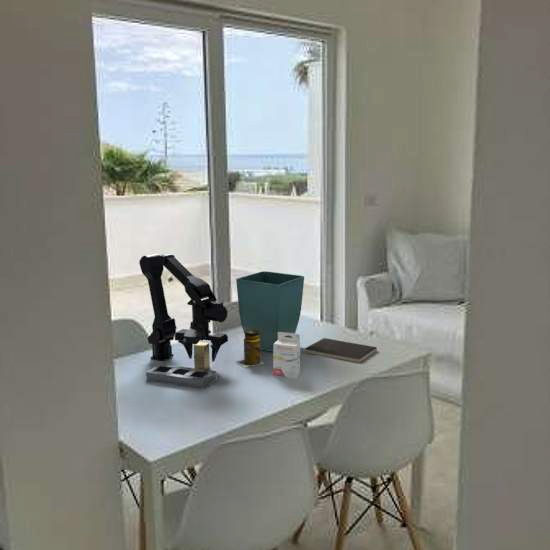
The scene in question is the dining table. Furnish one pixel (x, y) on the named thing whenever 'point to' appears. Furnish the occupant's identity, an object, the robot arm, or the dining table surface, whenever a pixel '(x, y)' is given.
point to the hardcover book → (341, 350)
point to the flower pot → (270, 304)
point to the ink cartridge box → (286, 355)
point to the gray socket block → (181, 376)
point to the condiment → (251, 349)
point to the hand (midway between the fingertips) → (201, 359)
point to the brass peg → (201, 356)
